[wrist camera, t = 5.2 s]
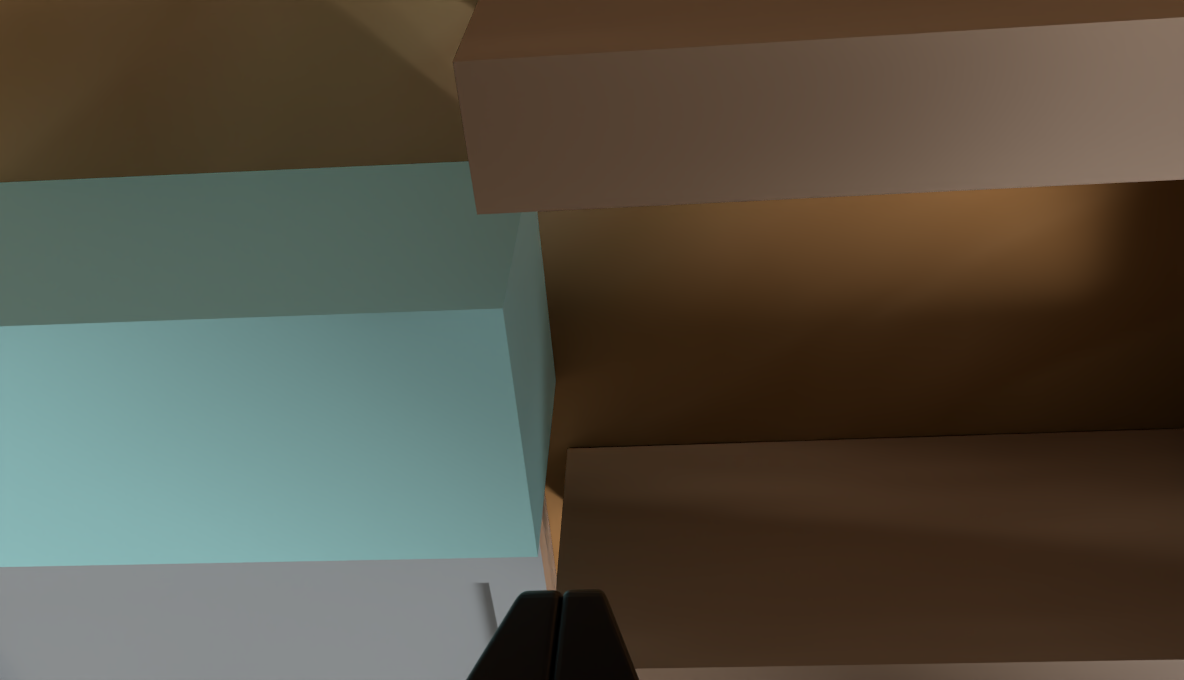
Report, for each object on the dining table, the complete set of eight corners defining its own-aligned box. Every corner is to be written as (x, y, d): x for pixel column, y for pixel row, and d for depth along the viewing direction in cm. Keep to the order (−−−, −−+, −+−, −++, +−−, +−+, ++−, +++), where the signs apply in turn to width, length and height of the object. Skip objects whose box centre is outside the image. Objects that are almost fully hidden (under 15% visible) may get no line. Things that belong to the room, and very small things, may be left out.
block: (537, 556, 13) (-35, 567, 14) (556, 374, 17) (93, 388, 17) (502, 308, 11) (-182, 333, 12) (532, 153, 14) (-3, 177, 15)
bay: (1266, 491, 17) (1435, 723, 14) (574, 510, 18) (560, 734, 14) (1540, -140, 11) (1965, -31, 8) (506, -69, 12) (452, 61, 9)
